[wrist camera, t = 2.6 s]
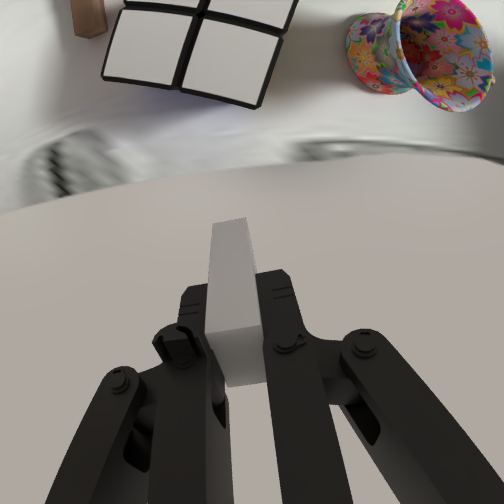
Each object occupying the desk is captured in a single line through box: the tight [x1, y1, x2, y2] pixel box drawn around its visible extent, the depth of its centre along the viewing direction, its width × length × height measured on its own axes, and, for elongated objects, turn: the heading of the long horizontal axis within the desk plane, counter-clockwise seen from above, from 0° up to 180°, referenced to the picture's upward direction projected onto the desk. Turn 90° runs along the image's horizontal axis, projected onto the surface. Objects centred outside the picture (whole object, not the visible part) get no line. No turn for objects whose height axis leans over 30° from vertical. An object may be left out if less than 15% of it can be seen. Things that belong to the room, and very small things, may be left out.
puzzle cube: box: [101, 0, 299, 110], centre depth 17 cm, size 10×10×10 cm
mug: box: [346, 0, 495, 112], centre depth 17 cm, size 12×9×11 cm
